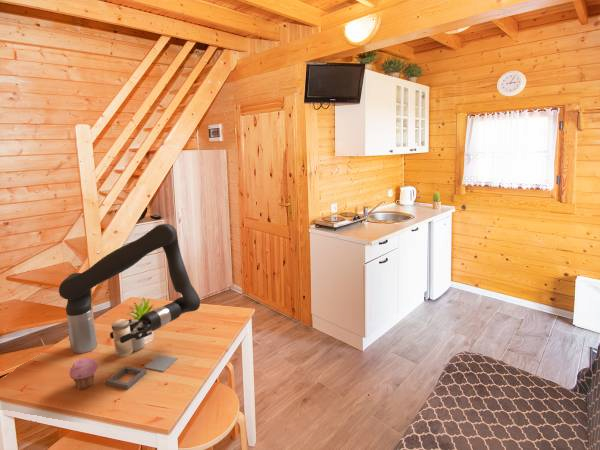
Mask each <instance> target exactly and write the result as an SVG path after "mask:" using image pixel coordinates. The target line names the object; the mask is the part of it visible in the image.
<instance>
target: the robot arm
mask: <svg viewBox="0 0 600 450" xmlns="http://www.w3.org/2000/svg"><path fill="white" fill-rule="evenodd" d="M161 248H162V249H163V251H164V253H165V257H166V261H167V266H168V267H167V268H168V273H169V277H170V280H171V283H172V286H173V289H174V291H175V292H176V293H179V294H181V296H180V297H178V298H176V299H174V300H173V301H172V302H170V303H167V304H165V305H163V306H161V307H157V308H154V309H152V310H150V311H147V312H145V313H143V314H142V315H141V316H140V318H139V319H137V320H138V321H134V322H132V320H133V319H128V320H129V324H130V325H129V326H130V333H131V334H130V333H128V334H126V335H124V336H122V337H120V343H124V342H126V341H128V340H130V339H135V338H136V340H138V339H141V338H143V337H144V338H145V337H148V336H151V335H152V334H153V332H154V331H156V330H158V329H161V328H162V327H165V326H166V325H167V324H169V323H171V322H172V321H173V322H174V321H175V320H177V319H178V318H180V316H181V315H182V314H185V313H189V312H190V313H192V312H195V311H198V310H199V309H200V306H201V298H200V297H199V294H198V293H197V291H196V290H195V288H194V286H193V285H192V283H191V280H190V276H189V275H188V271H187V269H186V266H185V263H184V260H183V257H182V254H181V250H180V246H179V239H178V232H177V229H176V228H175V227H174V226H173V225H172V224H169V223H162V224H161V223H160V224H158V225H156V226H155V227H153V228H152V229H150V231H148V232H146V233H145V234H144V235H141V237H139V238H137V239H136V240H133V241H131V242H129V243H127V244H125V245H122V246H121V247H119V248H116V249H115V250H113V251H111V252H110V253H108V254H106V255H105V256H103V257H102V258H101V259H99V260H98V261H97V262H96V263H94V264H93V265H92V266H90V267H89V268H88V269H86V270H85V271H83V272H73V273H71V274H70V275H68V276H67V277H66V278H65V279H63V281H61V283H60V285H59V288H58V293H59V294H58V295H59V296H60V298H62V299H63V300H67V302H66V306H65V313H66V318H67V324H68V329H67V332H68V339H69V344H70V350H71V351H72V352H73V353H75V354H83V353H88V352H90V351H92V350H94V349H95V348H96V347H98V341H97V340H98V339H97V333H96V328H95V320H94V315H93V309H92V308H93V307H92V300H93V298H92V289H93V288H94V287H97V286H98V285H99V284H101V283H103V282H105V281H108V280H110V279H111V278H113V277H115V276H118V275H119V274H121V273H123V272H124V271H126V270H128V269H129V268H131V267H133V266H135V264H137V263H138V262H139V261H140V260H142V259H143V258H145V256H148V254H150V253H153V252H154V251H156V250H158V249H161ZM141 334H142V335H141ZM140 335H141V336H140ZM109 337H110V339H112V340H114V336H113V331H112V332H111V331H110V333H109Z"/></svg>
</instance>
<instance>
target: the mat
mask: <svg viewBox="0 0 600 450" xmlns="http://www.w3.org/2000/svg"><path fill="white" fill-rule="evenodd" d="M177 360H178V357H174V356H168V355H162V354H158V355H157V356H156V357H155V358H153V359H152V360H151V361H149V362H148V363H147V364H146V365H145V366H143V368H144V369H145V370H152V371H158V372H162V373H164V372H165V371H166V370H167V369H169V368H170V367H171V366H172V365H173V364H174V363H175V362H176V361H177Z"/></svg>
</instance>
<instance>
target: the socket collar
mask: <svg viewBox="0 0 600 450" xmlns="http://www.w3.org/2000/svg"><path fill="white" fill-rule="evenodd" d="M126 373H130V374H135V376H134V377H132V378H131V379H129V381H128V382H125V381H120V380H118V379H119V378H120V377H122V376H123V375H124V374H126ZM145 375H147V369H145V368H144V369H143V368H137V367H133V366H128V365H125V366H123V367H122V368H121V369H119V370H118V371H117V372H116V373H114V374H113V375H112V376H111V377H109V378H108V379H106V381H105V383H106V385H107V386H111V387H114V388H120V389H125V390H130V389H131V388H132V387H133V386H134V385H135V384H136V383H137V382H139V381H140V380H141V379H142V378H143V377H144V376H145Z"/></svg>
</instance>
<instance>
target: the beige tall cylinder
mask: <svg viewBox="0 0 600 450" xmlns="http://www.w3.org/2000/svg"><path fill="white" fill-rule="evenodd" d="M129 320H130V319H127V318H123V319H121V318H120V319H117V320H114V321H113V322H112V323H111V330H112V332H113V336H114V338H113V340H114V341H113V343H114V349H115V354H116V357H119V358H121V357H127V356H130V355H131V354H132V353H133V352H134V351H133V347H132V340H131V339H130V340H128V341H126V342H124V343H120V337H122V336H124V335H126V334H128V333H130V326H129V325H130V324H129ZM130 334H131V333H130Z"/></svg>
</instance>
